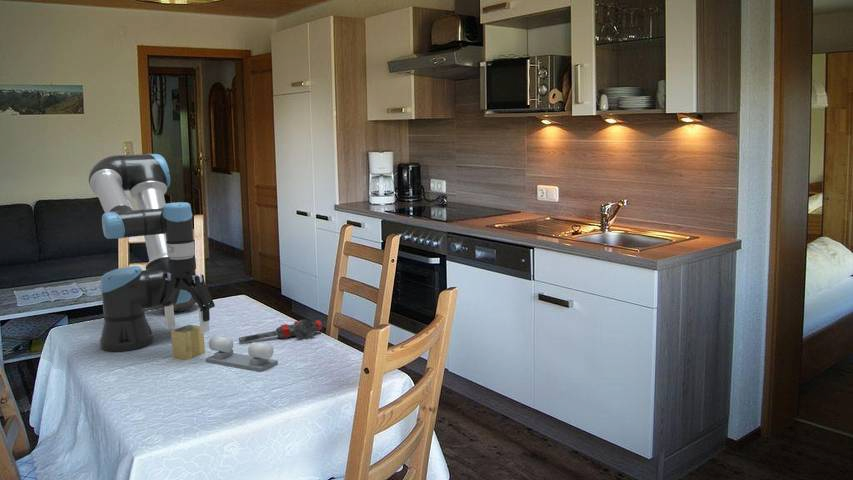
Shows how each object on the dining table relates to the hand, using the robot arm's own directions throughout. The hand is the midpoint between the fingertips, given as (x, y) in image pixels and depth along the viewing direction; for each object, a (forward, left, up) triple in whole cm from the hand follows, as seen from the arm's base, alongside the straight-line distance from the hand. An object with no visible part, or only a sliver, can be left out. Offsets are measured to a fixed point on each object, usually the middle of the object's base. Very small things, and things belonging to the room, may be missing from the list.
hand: (187, 329), depth 213 cm
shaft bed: (+19, +1, -8) cm, 20 cm away
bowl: (-44, +37, -8) cm, 58 cm away
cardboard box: (0, 0, -8) cm, 8 cm away
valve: (+12, +27, -8) cm, 30 cm away
